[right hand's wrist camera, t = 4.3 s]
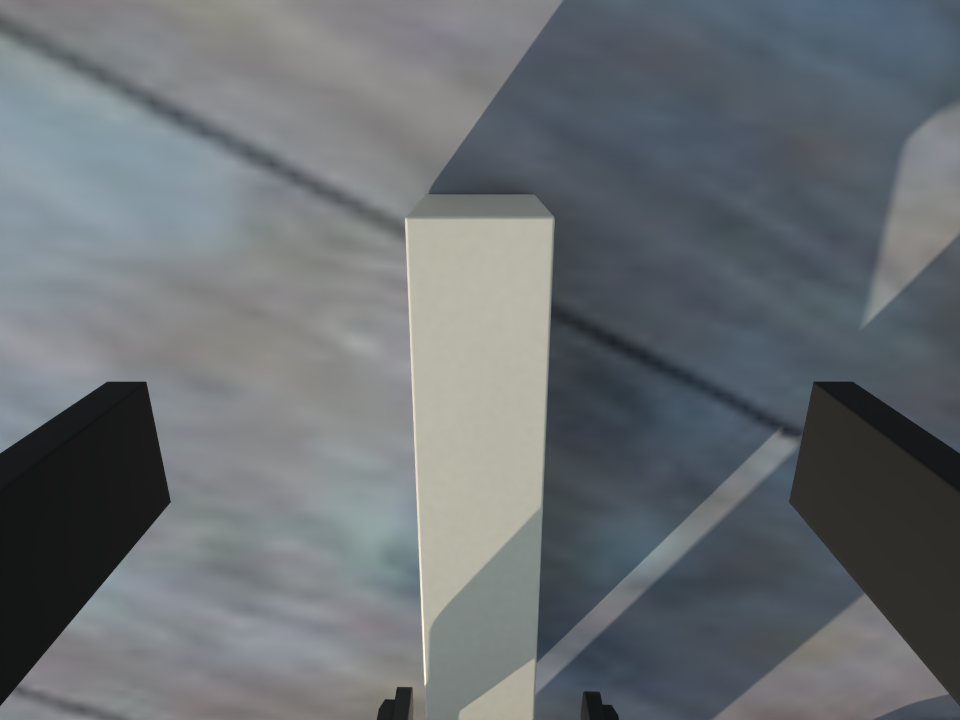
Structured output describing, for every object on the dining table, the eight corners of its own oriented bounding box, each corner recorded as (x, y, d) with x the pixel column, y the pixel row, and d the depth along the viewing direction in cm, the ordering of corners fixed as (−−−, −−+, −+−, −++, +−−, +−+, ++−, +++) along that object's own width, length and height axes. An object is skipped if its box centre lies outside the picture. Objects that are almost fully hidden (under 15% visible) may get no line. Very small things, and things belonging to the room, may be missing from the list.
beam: (424, 194, 25) (404, 216, 18) (535, 194, 25) (555, 216, 18) (439, 680, 34) (429, 811, 27) (520, 680, 34) (530, 811, 27)
